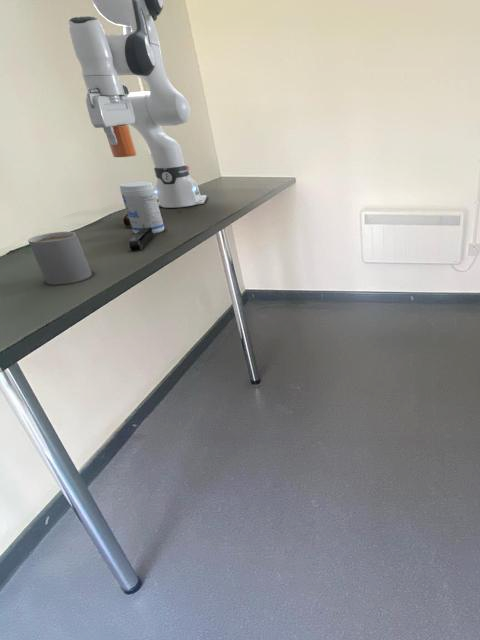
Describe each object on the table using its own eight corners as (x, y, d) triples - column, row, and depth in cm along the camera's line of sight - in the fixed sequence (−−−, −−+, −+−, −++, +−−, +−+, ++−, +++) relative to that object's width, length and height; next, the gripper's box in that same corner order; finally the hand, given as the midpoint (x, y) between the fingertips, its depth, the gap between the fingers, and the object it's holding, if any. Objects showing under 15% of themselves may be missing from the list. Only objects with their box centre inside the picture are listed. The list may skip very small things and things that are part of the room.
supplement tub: (127, 234, 156) (111, 185, 148) (149, 227, 163) (135, 180, 155) (150, 236, 153) (134, 186, 145) (172, 229, 160) (158, 181, 152)
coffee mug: (84, 282, 116) (68, 240, 111) (39, 286, 115) (20, 244, 109) (101, 266, 127) (86, 226, 122) (60, 269, 126) (43, 230, 120)
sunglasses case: (151, 224, 165) (135, 207, 161) (136, 236, 166) (119, 220, 162) (160, 213, 180) (145, 198, 176) (146, 225, 181) (131, 209, 177)
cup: (119, 155, 148) (110, 125, 144) (140, 154, 148) (131, 124, 144) (109, 157, 143) (99, 126, 139) (131, 156, 143) (121, 125, 139)
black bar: (140, 251, 139) (137, 240, 137) (131, 251, 138) (127, 241, 136) (154, 235, 153) (151, 226, 152) (146, 236, 153) (142, 226, 151)
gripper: (97, 87, 128) (115, 146, 135) (131, 88, 145) (145, 140, 152) (73, 88, 128) (93, 147, 135) (110, 89, 145) (125, 140, 152)
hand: (121, 143), depth 144 cm, fingers closed on cup, 6 cm apart
